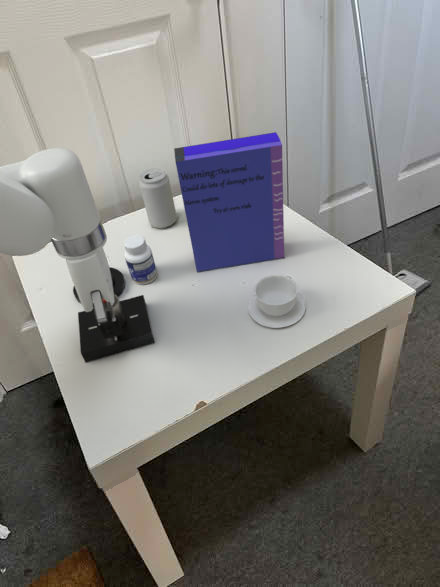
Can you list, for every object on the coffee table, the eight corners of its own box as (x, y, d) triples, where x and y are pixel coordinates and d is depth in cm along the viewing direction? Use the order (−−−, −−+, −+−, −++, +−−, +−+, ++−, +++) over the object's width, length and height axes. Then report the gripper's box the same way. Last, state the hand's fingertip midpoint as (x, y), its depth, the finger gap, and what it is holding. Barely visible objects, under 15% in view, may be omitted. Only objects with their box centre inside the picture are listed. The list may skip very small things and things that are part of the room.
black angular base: (85, 362, 77) (80, 353, 75) (82, 321, 84) (77, 311, 82) (155, 343, 78) (151, 332, 76) (146, 304, 85) (143, 294, 83)
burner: (76, 312, 86) (72, 303, 84) (73, 278, 93) (70, 270, 92) (128, 298, 87) (125, 289, 86) (122, 266, 94) (119, 258, 93)
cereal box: (279, 243, 94) (276, 131, 77) (284, 258, 90) (282, 143, 74) (195, 257, 94) (173, 147, 77) (197, 272, 90) (175, 160, 74)
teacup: (289, 337, 76) (289, 318, 72) (238, 317, 80) (235, 298, 77) (314, 299, 81) (315, 279, 78) (265, 282, 86) (264, 263, 83)
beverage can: (146, 219, 106) (133, 172, 97) (171, 210, 107) (161, 163, 99) (155, 233, 101) (142, 185, 93) (181, 224, 103) (172, 176, 94)
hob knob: (128, 327, 78) (119, 305, 74) (102, 335, 77) (93, 313, 74) (123, 310, 81) (115, 288, 78) (99, 317, 80) (90, 296, 77)
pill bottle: (129, 272, 93) (118, 236, 86) (155, 264, 93) (145, 229, 87) (134, 288, 89) (122, 252, 83) (160, 280, 90) (150, 245, 83)
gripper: (52, 210, 72) (87, 290, 84) (52, 279, 60) (93, 362, 72) (99, 199, 73) (127, 280, 85) (109, 265, 61) (140, 349, 73)
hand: (111, 317), depth 78 cm, fingers open, 8 cm apart
